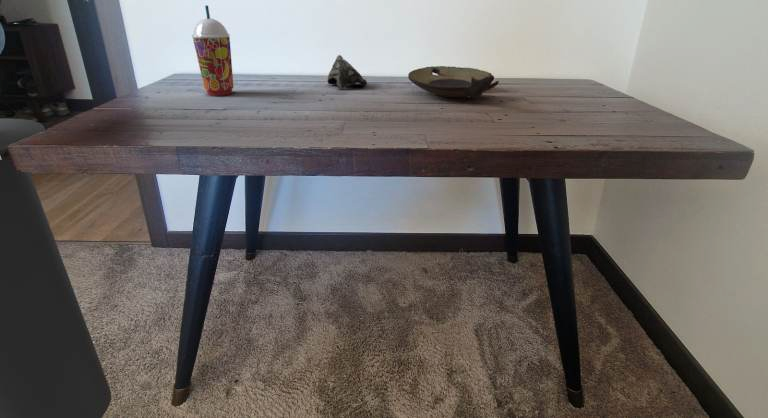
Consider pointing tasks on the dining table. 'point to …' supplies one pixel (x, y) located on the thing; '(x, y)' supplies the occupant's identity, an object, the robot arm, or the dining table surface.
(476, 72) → the broken bowl
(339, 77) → the fossil
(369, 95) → the dining table surface
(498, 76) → the dining table surface
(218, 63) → the smoothie
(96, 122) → the dining table surface
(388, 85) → the dining table surface
